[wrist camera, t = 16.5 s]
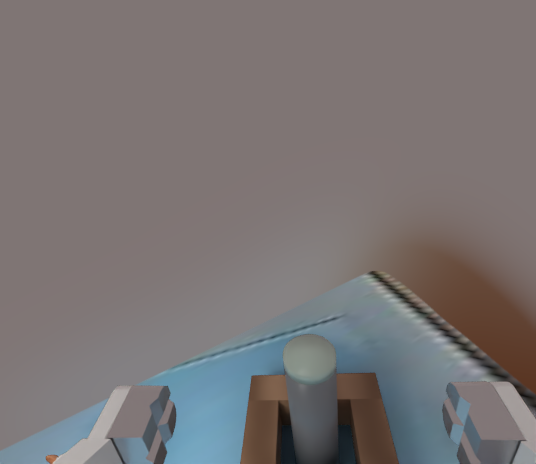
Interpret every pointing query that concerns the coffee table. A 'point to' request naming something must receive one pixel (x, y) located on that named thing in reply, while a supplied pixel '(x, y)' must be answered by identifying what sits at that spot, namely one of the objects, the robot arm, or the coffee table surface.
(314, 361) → the grey domed cylinder
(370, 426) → the square wooden frame
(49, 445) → the coffee table surface
